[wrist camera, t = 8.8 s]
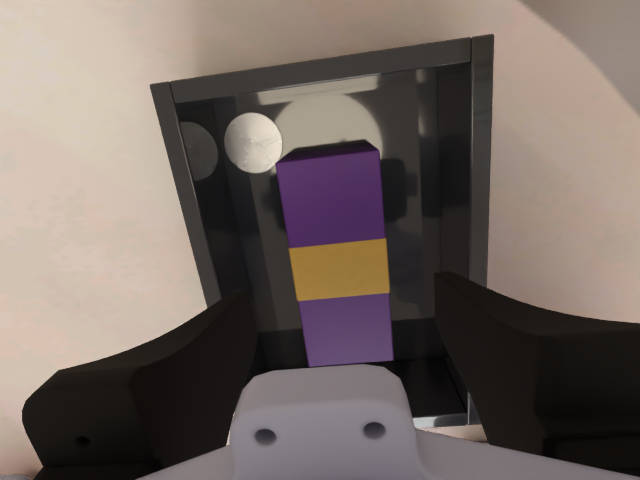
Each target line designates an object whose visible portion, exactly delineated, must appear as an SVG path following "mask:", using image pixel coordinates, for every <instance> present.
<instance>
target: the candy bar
mask: <svg viewBox="0 0 640 480" xmlns="http://www.w3.org/2000/svg"><path fill="white" fill-rule="evenodd" d="M275 166H276V172H277V178H278V184H279V190H280V196H281V202H282V209H283V215H284V221H285V227H286V233H287V239H288V245H289V255H290V261H291V267H292V274H293V280H294V286H295V292H296V298H297V301H298V305H299V311H300V318H301V324H302V330H303V336H304V342H305V348H306V354H307V360H308V365H309V367H313V366H326V365H340V364H353V363H366V362H379V361H392V360H394V351H393V337H392V322H391V308H390V294H389V292H390V284H389V269H388V255H387V240H386V237H385V222H384V208H383V194H382V180H381V165H380V151H379V150H378V149H377V148H376V147H375V146H373V145H372V144H370V143H369V144H361V145H353V146H345V147H337V148H329V149H321V150H313V151H305V152H297V153H290V154H286V155H285V156H284V157H282V158H281V159H280V160H278V161H277V162H276V163H275Z"/></svg>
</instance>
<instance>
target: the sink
mask: <svg viewBox="0 0 640 480" xmlns="http://www.w3.org/2000/svg"><path fill="white" fill-rule="evenodd" d="M493 60H494V34H488V35H481V36H474V37H472V38H470V37H467V38H460V39H453V40H446V41H439V42H433V43H426V44H419V45H412V46H405V47H399V48H392V49H385V50H378V51H371V52H365V53H358V54H351V55H344V56H338V57H331V58H324V59H317V60H310V61H304V62H297V63H290V64H283V65H276V66H270V67H263V68H256V69H249V70H242V71H236V72H229V73H222V74H215V75H209V76H202V77H195V78H188V79H181V80H175V81H171V82H161V83H155V84H151V85H150V89H151V93H152V97H153V100H154V104H155V108H156V112H157V116H158V120H159V124H160V127H161V131H162V135H163V139H164V143H165V147H166V150H167V154H168V158H169V162H170V166H171V170H172V174H173V177H174V181H175V185H176V189H177V193H178V197H179V200H180V204H181V208H182V212H183V216H184V220H185V224H186V227H187V231H188V235H189V239H190V243H191V247H192V251H193V254H194V258H195V262H196V266H197V270H198V274H199V277H200V281H201V285H202V289H203V293H204V297H205V301H206V304H207V308H209V307H210V306H212V305H213V304H215V303H216V302H218V301H219V300H221V299H222V298H224V297H225V296H227V295H228V294H230V293H232V292H235V291H245V290H249V292H250V297H251V302H252V306H253V311H254V316H255V321H256V325H257V330H258V339H257V345H256V350H255V354H254V358H253V361H252V364H251V366H250V369H249V372H248V375H247V377H246V380H245V383H244V385H243V388H242V391H243V389H244V388H245V387H246V385H247V384H248V383H249V382H250V381H251V380H252V379H253V378H254V376H258V375H261V374H264V373H267V372H270V371H274V370H288V369H301V368H315V367H328V366H342V365H355V364H366V365H373V366H380V367H384V368H386V369H387V370H389V371H390V372H392V373H393V374H394V375H396V376H397V377H399V378H400V380H401V382H402V385H403V387H404V390H405V392H406V394H407V398H408V402H409V406H410V410H411V414H412V418H413V422H414V426H415V428H431V427H448V426H465V425H479V424H481V421H480V418H479V416H478V413H477V411H476V408H475V406H474V403H473V400H472V398H471V396H470V394H469V392H468V390H467V387H466V386H465V384H464V382H463V380H462V378H461V376H460V374H459V372H458V370H457V368H456V367H455V365H454V363H453V361H452V359H451V357H450V355H449V353H448V351H447V349H446V347H445V345H444V343H443V341H442V339H441V336H440V333H439V330H438V327H437V324H436V321H435V296H434V273H437V272H448V271H451V272H454V273H456V274H459V275H461V276H463V277H465V278H467V279H469V280H471V281H473V282H475V283H477V284H479V285H481V286H483V287H486V288H487V263H488V229H489V195H490V161H491V128H492V94H493ZM244 113H259V114H262V115H264V116H266V117H268V118H269V119H271V120H272V121H273V122H274V123H275V124H276V126H277V127H278V129H279V131H280V133H281V136H282V142H283V148H282V153H281V156H280V158H279V160H280V159H281V158H282V157H284V156H285V155H286V154H290V153H297V152H305V151H313V150H321V149H329V148H337V147H345V146H353V145H361V144H369V143H370V144H372V145H373V146H375V147H376V148H377V149H378V150H379V151H380V165H381V180H382V194H383V208H384V222H385V237H386V240H387V255H388V269H389V284H390V292H389V294H390V308H391V322H392V337H393V351H394V360H392V361H379V362H366V363H353V364H340V365H326V366H313V367H309V365H308V360H307V354H306V348H305V342H304V336H303V330H302V324H301V318H300V311H299V305H298V301H297V298H296V292H295V286H294V280H293V274H292V267H291V261H290V255H289V245H288V239H287V233H286V227H285V221H284V215H283V209H282V202H281V196H280V190H279V184H278V178H277V172H276V166H275V165H274V166H273V167H272V168H270V169H269V170H267V171H265V172H261V173H249V172H246V171H243V170H241V169H240V168H238V167H237V166H236V165H234V164H233V162H232V161H231V160H230V159H229V157H228V155H227V153H226V150H225V144H224V138H225V132H226V130H227V127H228V126H229V124H230V123H231V121H232V120H233V119H235V118H236V117H237V116H239V115H242V114H244ZM242 391H241V394H242ZM241 394H240V396H239V399H240V397H241ZM239 399H238V402H239ZM238 402H237V405H238ZM237 405H236V408H237ZM236 408H235V411H236ZM235 411H234V412H235Z"/></svg>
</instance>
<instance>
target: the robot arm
mask: <svg viewBox="0 0 640 480" xmlns="http://www.w3.org/2000/svg"><path fill="white" fill-rule="evenodd" d="M434 296H435V321H436V324H437V327H438V330H439V333H440V336H441V339H442V341H443V343H444V345H445V347H446V349H447V351H448V353H449V355H450V357H451V359H452V361H453V363H454V365H455V367H456V368H457V370H458V372H459V374H460V376H461V378H462V380H463V382H464V384H465V386H466V387H467V390H468V392H469V394H470V396H471V398H472V400H473V403H474V406H475V408H476V411H477V413H478V416H479V418H480V421H481V424H482V426H483V429H484V432H485V434H486V437H487V440H488V443H479V442H474V441H470V440H465V439H460V438H456V437H451V436H447V435H442V434H437V433H433V432H428V431H423V430H419V429H416V428H415V426H414V422H413V418H412V414H411V410H410V406H409V402H408V398H407V394H406V392H405V390H404V387H403V385H402V382H401V380H400V378H399V377H397V376H396V375H394V374H393V373H392V372H390V371H389V370H387V369H386V368H384V367H380V366H373V365H366V364H355V365H342V366H328V367H315V368H301V369H288V370H274V371H270V372H267V373H264V374H261V375H258V376H254V378H253V379H252V380H251V381H250V382H249V383H248V384H247V385H246V387H245V388H244V389H243V391H242V388H243V385H244V383H245V380H246V377H247V375H248V372H249V369H250V366H251V364H252V361H253V358H254V354H255V350H256V345H257V339H258V330H257V325H256V321H255V316H254V311H253V306H252V302H251V297H250V292H249V290H245V291H235V292H232V293H230V294H228V295H227V296H225V297H224V298H222V299H221V300H219V301H218V302H216V303H215V304H213V305H212V306H210V307H209V308H207V309H206V310H204V311H203V312H201V313H200V314H198V315H197V316H195V317H194V318H192V319H190V320H189V321H187V322H186V323H184V324H182V325H181V326H179V327H177V328H175V329H174V330H172V331H170V332H168V333H166V334H164V335H162V336H160V337H158V338H156V339H154V340H151V341H149V342H147V343H144V344H142V345H139V346H137V347H135V348H132V349H130V350H127V351H124V352H121V353H119V354H116V355H113V356H110V357H107V358H103V359H100V360H97V361H93V362H90V363H86V364H82V365H78V366H74V367H70V368H66V369H62V370H59V371H57V372H56V373H55V374H54V375H53V376H52V377H50V378H49V379H48V380H47V381H46V382H45V383H44V384H43V385H42V386H41V387H39V388H38V389H37V390H36V391H35V392H34V393H33V394H32V395H31V396H30V397H29V398H28V399H27V400H26V402H25V404H24V407H23V410H22V422H23V425H24V428H25V431H26V434H27V436H28V438H29V439H30V441H31V443H32V445H33V447H34V449H35V451H36V453H37V455H38V457H39V459H40V461H41V463H42V465H43V466H44V467H43V468H42V469H41V470H40V472H39V473H38V474H37V475H36V476H35V478H34V479H32V478H30V477H28V476H26V475H21V474H13V475H0V480H640V323H629V322H618V321H607V320H600V319H593V318H586V317H580V316H574V315H569V314H564V313H560V312H556V311H551V310H547V309H543V308H539V307H536V306H533V305H529V304H526V303H523V302H520V301H517V300H514V299H512V298H509V297H507V296H504V295H502V294H499V293H497V292H494V291H492V290H490V289H488V288H486V287H483V286H481V285H479V284H477V283H475V282H473V281H471V280H469V279H467V278H465V277H463V276H461V275H459V274H456V273H454V272H451V271H448V272H437V273H434ZM241 391H242V394H241ZM240 394H241V397H240V399H239V396H240ZM238 399H239V402H238ZM237 402H238V405H237ZM236 405H237V408H236ZM235 408H236V411H235ZM234 411H235V414H234ZM233 414H234V417H233ZM232 418H233V420H232ZM231 422H232V423H231ZM230 426H231V427H230ZM229 430H230V441H229V443H230V445H227V446H226V443H227V438H228V434H229Z"/></svg>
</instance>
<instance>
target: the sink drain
mask: <svg viewBox="0 0 640 480" xmlns="http://www.w3.org/2000/svg"><path fill="white" fill-rule="evenodd" d="M224 144H225V150H226V153H227V155H228V157H229V159H230V160H231V161H232V162H233V164H234V165H236V166H237V167H238V168H240V169H241V170H243V171H246V172H249V173H261V172H265V171H267V170H269V169H270V168H272V167H273V166H274V165H275V163H276V162H277V161H278V160H279V158H280V156H281V153H282V148H283V142H282V136H281V133H280V131H279V129H278V127H277V126H276V124H275V123H274V122H273V121H272V120H271V119H269V118H268V117H266V116H264V115H262V114H259V113H244V114H242V115H239V116H237V117H236V118H235V119H233V120H232V121H231V123H230V124H229V126H228V127H227V130H226V132H225V138H224Z"/></svg>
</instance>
